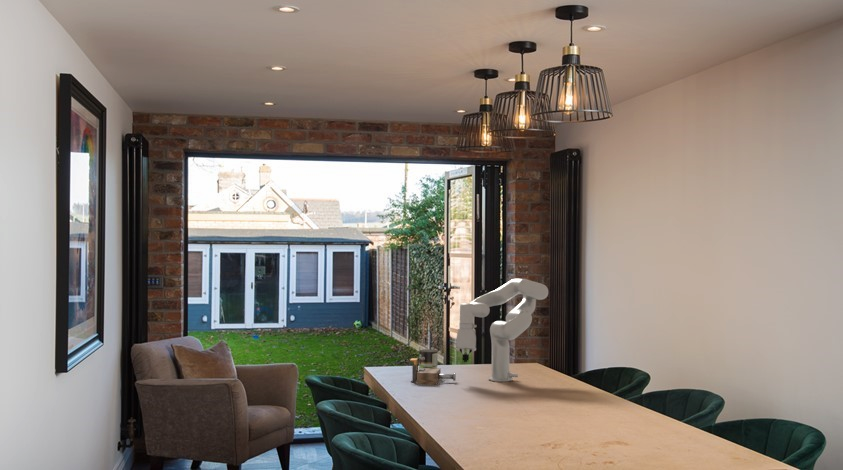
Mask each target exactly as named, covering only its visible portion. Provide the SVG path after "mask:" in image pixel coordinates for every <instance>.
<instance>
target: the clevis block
mask: <svg viewBox="0 0 843 470" xmlns="http://www.w3.org/2000/svg"><path fill="white" fill-rule="evenodd" d="M411 368H412V373H411V374H412V379H411V381H410V383H411V382H412V383H414V384H416V385H426V386H427V385H428V386H437V385H438V383H439V382H440V381H441V379H438V374H442V373H441V371H442V370H441V368H440V367H437V368H420V369H419V362H417V370H416V365H414V364H413V365H412V367H411Z"/></svg>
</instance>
